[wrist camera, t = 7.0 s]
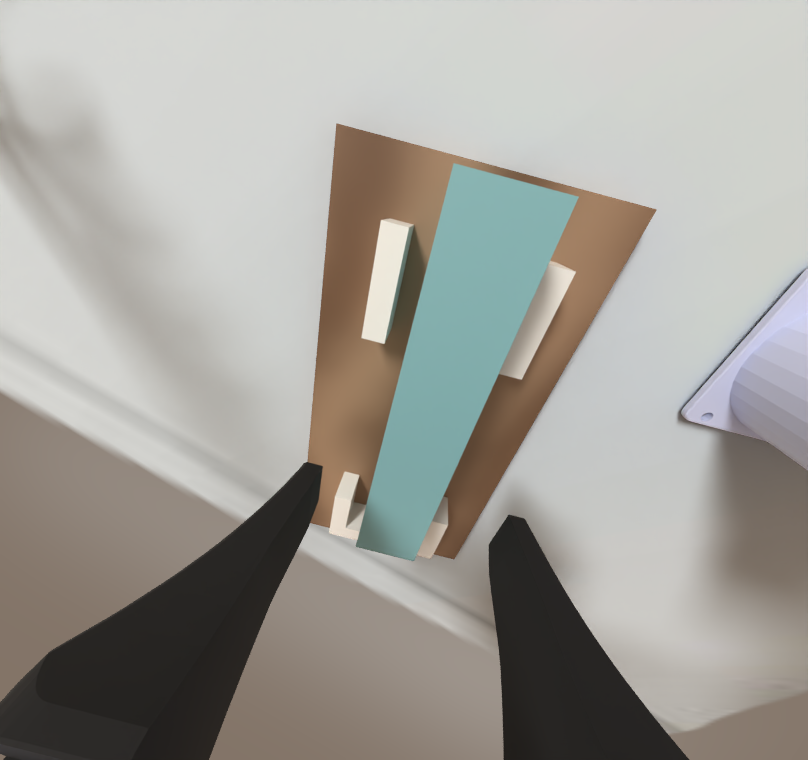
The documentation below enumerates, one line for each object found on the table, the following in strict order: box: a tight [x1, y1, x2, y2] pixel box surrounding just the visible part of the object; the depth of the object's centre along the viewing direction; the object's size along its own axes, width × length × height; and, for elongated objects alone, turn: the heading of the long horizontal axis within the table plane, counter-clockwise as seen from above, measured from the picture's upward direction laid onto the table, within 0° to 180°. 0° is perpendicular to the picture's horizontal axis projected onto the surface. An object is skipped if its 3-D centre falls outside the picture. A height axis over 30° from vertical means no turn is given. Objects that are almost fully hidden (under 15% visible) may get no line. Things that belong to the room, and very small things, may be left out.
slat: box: [356, 163, 579, 561], centre depth 13 cm, size 3×16×5 cm, turn 167°
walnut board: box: [308, 124, 656, 559], centre depth 17 cm, size 12×24×1 cm, turn 167°
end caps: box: [329, 219, 576, 559], centre depth 16 cm, size 7×19×2 cm, turn 167°
